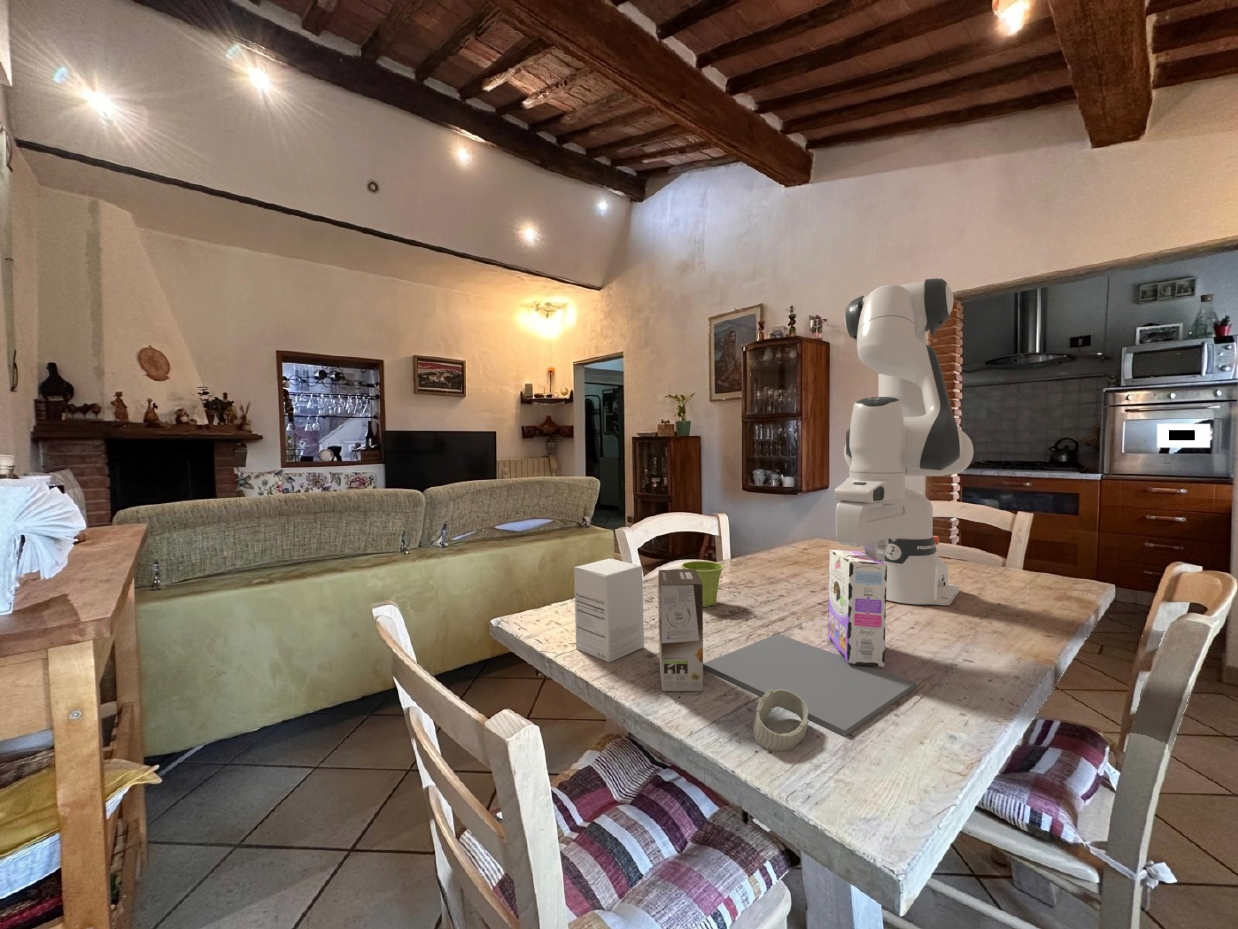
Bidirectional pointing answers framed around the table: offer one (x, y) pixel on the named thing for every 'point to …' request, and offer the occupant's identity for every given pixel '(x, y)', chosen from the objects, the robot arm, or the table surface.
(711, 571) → the plant pot
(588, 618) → the supplement box
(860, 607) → the candy box
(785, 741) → the beige ribbed ring
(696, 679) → the coffee box
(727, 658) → the mat
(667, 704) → the table surface
